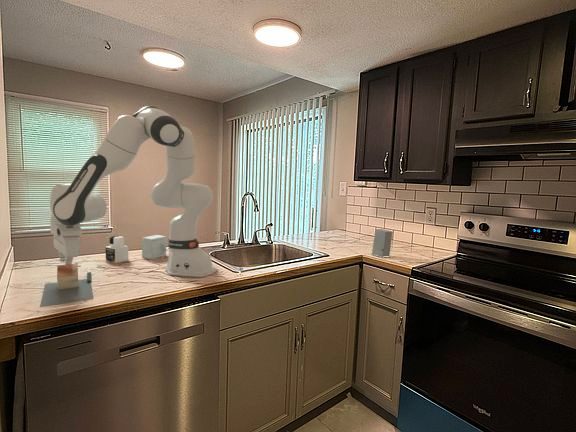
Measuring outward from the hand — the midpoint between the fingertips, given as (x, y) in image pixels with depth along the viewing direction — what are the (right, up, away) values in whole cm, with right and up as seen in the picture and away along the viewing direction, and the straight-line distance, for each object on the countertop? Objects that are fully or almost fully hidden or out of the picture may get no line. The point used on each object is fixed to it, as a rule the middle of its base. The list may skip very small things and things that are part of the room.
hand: (65, 264), depth 116 cm
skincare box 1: (+14, -3, +45) cm, 47 cm away
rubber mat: (+6, -9, -8) cm, 13 cm away
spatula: (0, -6, +14) cm, 15 cm away
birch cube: (+3, -6, -3) cm, 8 cm away
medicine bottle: (+1, -4, +34) cm, 34 cm away
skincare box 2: (+139, -6, +69) cm, 155 cm away
